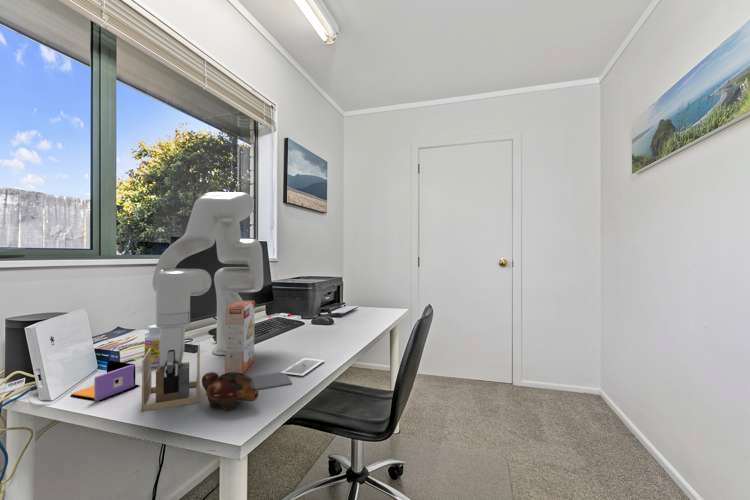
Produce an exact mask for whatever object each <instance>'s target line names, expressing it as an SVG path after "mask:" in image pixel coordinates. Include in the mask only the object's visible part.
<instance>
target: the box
mask: <svg viewBox="0 0 750 500" xmlns="http://www.w3.org/2000/svg"><path fill="white" fill-rule="evenodd" d="M164 373H165V365H164V367H162V368H159V366H158V367H156V370H155V387H156V392H155V403H158V402H164V401H171V400H177V399H183V398H189V395H190V387H189V382H190V362H189V361H186V362H182V363H181V365H180V366H178V375H179V391H178V392H176V393H170V394H164Z"/></svg>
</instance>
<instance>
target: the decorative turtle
mask: <svg viewBox="0 0 750 500" xmlns="http://www.w3.org/2000/svg"><path fill="white" fill-rule="evenodd" d="M201 385H202V387H203V389H204V391H205V395H206V398H207V400H208V404H209V406H210V408H211V409H213V410H217V409H218V408H219V407H220V406H222V408H223V409H224V410H226V411H227V412H230V411H232V410H233V409H234V407H235V405H236V404H237V402H238V401H240V402H255V401H256V400H257V399H258V397H259V392H260V390H258V389H256V388H254V386H253V383H252V380H251V377H249V376H248V375H246V374H245V373H244V374H241V373H237V372H230V373H225V372H224V373H223V374H221V375H219V373H217V372H213V371H211V372H207V373H205V374H203V377H202V378H201Z"/></svg>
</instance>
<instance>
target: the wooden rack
mask: <svg viewBox="0 0 750 500" xmlns="http://www.w3.org/2000/svg"><path fill="white" fill-rule="evenodd" d="M197 345H198V346H197V355H196V380H195V381H193V380H191V381H189V388H194V387H196V396H190V397H189V396H188V398H183V399H177V400H171V401H164V402H158V403H156V402H153V403H152V402H151V403H148V401H149V398H150V397H151V394H153V393H156V386H152V367H151V348H149V350H148V352H147V353H146V355H145V354H144V357H143V358H142V360H141V412H144V411H151V410H157V409H164V408H170V407H171V408H172V407H176V406H181V405H189V404H196V403H199V400H200V397H199V396H200V387H201V386H200V384H201V383H200V382H201V381H200V378H201V376H200V374H201V373H200V366H201V365H200V364H201V363H200V360H201V358H200V356H201V354H200V353H201V348H200V347H201V343H200V342H199V343H198V344H197Z"/></svg>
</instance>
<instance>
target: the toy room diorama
mask: <svg viewBox="0 0 750 500" xmlns="http://www.w3.org/2000/svg"><path fill="white" fill-rule="evenodd" d="M139 387H141V385H140V384H136V364H135V363H131V362H129V363H128V362H123V361H114V360H112V361H107V363H106V373H103V374H99V375H97V376H95V377H94V385H91V386H88V387H86V388H83V389H80V390H78V391H75V392H71V394H70V398H75V399H80V400H86V401H92V402H97V403H98V402H99V403H100V402H103V401H106V400H110V399H113V398H114V397H117V396H119V395H122V394H124V393H128V392H129V391H132V390H135V389H137V388H139Z"/></svg>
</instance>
